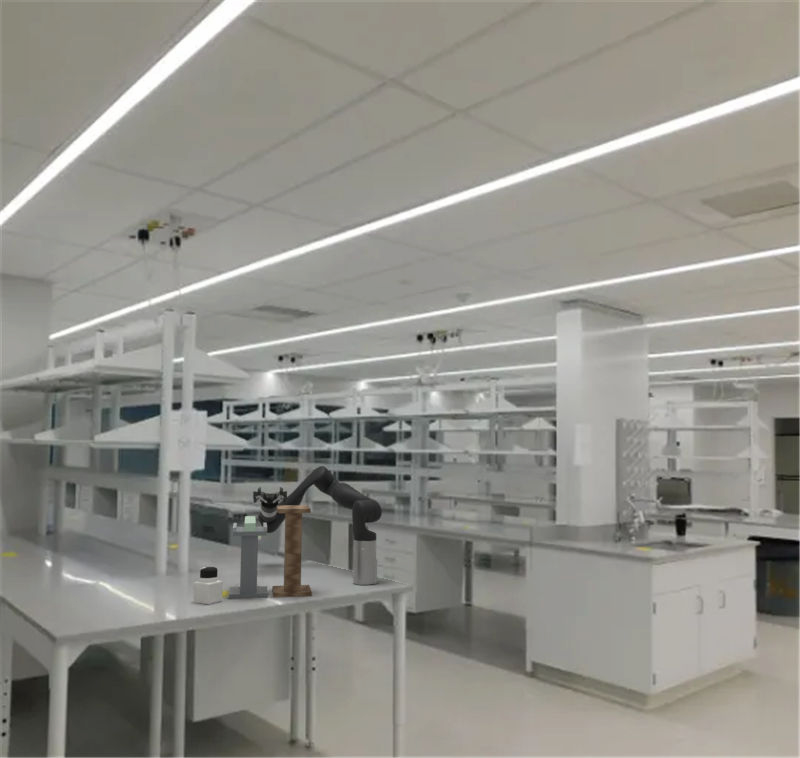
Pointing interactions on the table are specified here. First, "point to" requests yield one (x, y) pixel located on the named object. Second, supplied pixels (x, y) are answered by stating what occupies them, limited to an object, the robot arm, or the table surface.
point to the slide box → (250, 524)
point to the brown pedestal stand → (292, 553)
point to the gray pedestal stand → (249, 564)
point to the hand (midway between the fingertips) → (270, 489)
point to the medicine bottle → (208, 587)
